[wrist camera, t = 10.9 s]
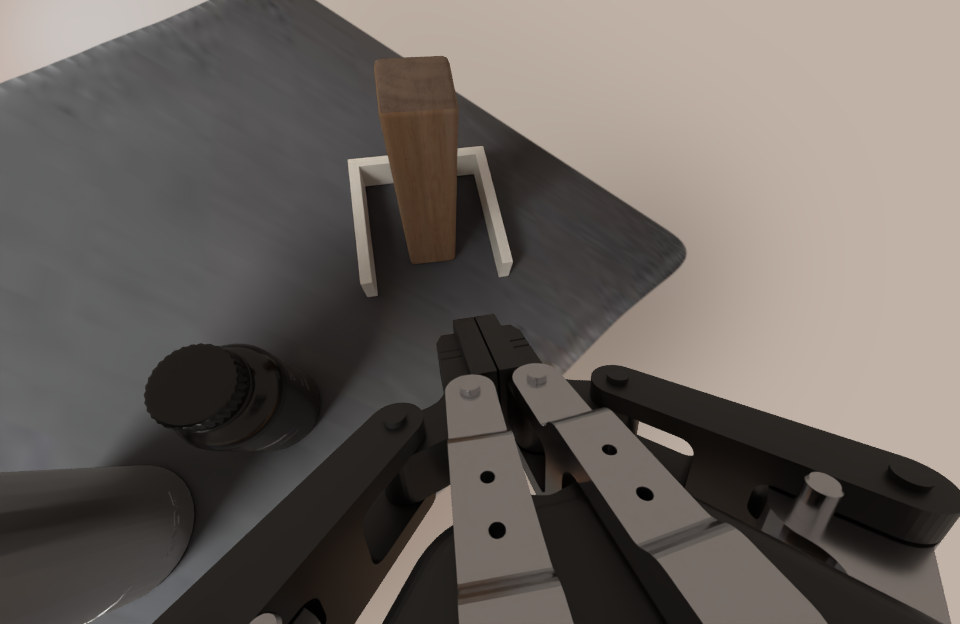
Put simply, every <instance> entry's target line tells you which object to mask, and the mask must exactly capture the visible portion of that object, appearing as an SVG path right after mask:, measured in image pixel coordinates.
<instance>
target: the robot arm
mask: <svg viewBox="0 0 960 624" xmlns="http://www.w3.org/2000/svg"><path fill="white" fill-rule="evenodd" d="M453 330H454V334H449V335H442V336H440V338H439V340H438V342H437V344H436V345H437V352H438V359H439V367H440V374H441V381H442V386H443V391H444V395H443V396H442V398H441V399H440V400H439V401H438V402H437V403H435V404H434V405H432V406H430V407H428V408H426V409H424V410H422V411H421V409H420V408H419V407H417V406H416V405H413V404H410V403H395V404H391V405H388V406H385V407H383V408H381V409H380V410H378V411H377V412H376V413H375V414H373V415H372V416H371V417H370V418H369V419H368V420H367V421H366V422H365V423H364V424H363V425H362V426H361V427H360V428H359V429H358V430H356V431H355V432H354V433H353V434H352V435H351V436H350V437H349V438H348V439H347V440H346V441H345V442H344V443H343V444H342V445H341V446H340V447H338V448H337V449H336V450H335V451H334V452H333V453H332V454H331V455H330V456H329V457H328V458H327V459H326V460H325V461H324V462H323V463H322V464H321V465H319V466H318V467H317V468H316V469H315V470H314V471H313V472H312V473H311V474H310V475H309V476H308V477H307V478H306V479H305V480H304V481H303V482H301V483H300V484H299V485H298V486H297V487H296V488H295V489H294V490H293V491H292V492H291V493H290V494H289V495H288V496H287V497H286V498H285V499H283V500H282V501H281V502H280V503H279V504H278V505H277V506H276V507H275V508H274V509H273V510H272V511H271V512H270V513H269V514H268V515H267V516H266V517H264V518H263V519H262V520H261V521H260V522H259V523H258V524H257V525H256V526H255V527H254V528H253V529H252V530H251V531H250V532H249V533H248V534H246V535H245V536H244V537H243V538H242V539H241V540H240V541H239V542H238V543H237V544H236V545H235V546H234V547H233V548H232V549H231V550H230V551H228V552H227V553H226V554H225V555H224V556H223V557H222V558H221V559H220V560H219V561H218V562H217V563H216V564H215V565H214V566H213V567H212V568H211V569H209V570H208V571H207V572H206V573H205V574H204V575H203V576H202V577H201V578H200V579H199V580H198V581H197V582H196V583H195V584H194V585H193V586H191V587H190V588H189V589H188V590H187V591H186V592H185V593H184V594H183V595H182V596H181V597H180V598H179V599H178V600H177V601H176V602H175V603H173V604H172V605H171V606H170V607H169V608H168V609H167V610H166V611H165V612H164V613H163V614H162V615H161V616H160V617H159V618H158V619H157V620H155V621H154V622H153V623H152V624H355V622H356V621H357V619H358V617H359V616H360V615H361V613H362V611H363V610H364V608H365V607H366V605H367V604H368V602H369V601H370V599H371V598H372V596H373V594H374V593H375V592H376V590H377V589H378V587H379V585H380V584H381V582H382V581H383V579H384V578H385V576H386V575H387V573H388V572H389V570H390V569H391V567H392V565H393V564H394V563H395V561H396V559H397V558H398V556H399V555H400V553H401V552H402V550H403V549H404V547H405V546H406V544H407V543H408V541H409V540H410V538H411V537H412V535H413V534H414V532H415V530H416V529H417V527H418V526H419V524H420V523H421V521H422V520H423V518H424V517H425V515H426V514H427V512H428V511H429V509H430V508H431V506H432V504H433V503H434V500H435V497H436V492H438V491H440V490H442V489H443V488H445V487H447V486H449V485H451V498H452V511H453V525H452V526H451V527H449V528H448V529H447V530H445V531H444V532H443V533H442V534H440V535H439V536H438V537H437V538H436V539H435V540H434V541H433V542H432V543H431V544H430V545H429V546H428V548H427V549H426V550H425V551H424V553H423V554H422V555H421V557H420V558H419V560H418V561H417V563H416V565H415V566H414V568H413V570H412V572H411V573H410V575H409V577H408V579H407V580H406V582H405V584H404V586H403V587H402V589H401V591H400V593H399V595H398V596H397V598H396V600H395V602H394V604H393V605H392V607H391V609H390V611H389V612H388V614H387V616H386V618H385V620H384V621H383V623H382V624H951V621H950V616H949V612H948V608H947V603H946V599H945V595H944V591H943V586H942V582H941V578H940V573H939V569H938V565H937V560H936V556H935V552H934V550H935V549H936V547H937V546H938V545H939V543H940V542H941V540H942V539H943V538H944V537H945V535H946V534H947V533H948V531H949V530H950V529H951V527H952V526H953V525H954V523H955V522H956V521H957V519H958V518H959V517H960V490H959V489H958V488H957V487H956V486H955V485H954V484H953V483H952V482H951V481H949V480H948V479H947V478H946V477H944V476H943V475H941V474H940V473H938V472H936V471H935V470H933V469H931V468H929V467H927V466H925V465H923V464H921V463H919V462H917V461H914V460H912V459H909V458H906V457H903V456H900V455H897V454H894V453H891V452H888V451H885V450H881V449H879V448H875V447H872V446H869V445H866V444H863V443H860V442H856V441H854V440H851V439H847V438H844V437H841V436H838V435H835V434H832V433H829V432H826V431H822V430H819V429H816V428H813V427H810V426H807V425H804V424H801V423H797V422H795V421H792V420H788V419H785V418H782V417H779V416H776V415H773V414H770V413H766V412H763V411H760V410H757V409H754V408H751V407H748V406H745V405H742V404H739V403H736V402H732V401H729V400H726V399H723V398H719V397H717V396H714V395H711V394H708V393H704V392H701V391H698V390H695V389H692V388H689V387H686V386H683V385H679V384H676V383H673V382H670V381H667V380H664V379H661V378H658V377H655V376H652V375H648V374H645V373H642V372H639V371H636V370H633V369H630V368H626V367H623V366H618V365H606V366H601V367H599V368H597V369H595V370H594V371H593V372H592V375H591V381H585V380H584V381H583V380H568V379H565V378H564V377H563V376H562V375H561V374H560V372H559V371H558V370H557V369H555V368H553V367H551V366H549V365H546V364H542V362H541V361H540V359H539V358H538V356H537V355H536V353H535V352H534V350H533V349H532V347H531V346H529V343H528V341H527V340H526V339H525V337H524V335H523V334H522V332H521V331H520V330H519V329H517V328H515V327H513V326H512V325H505V326H501V325H500V323H499V321H498V320H497V318H496V316H495V315H494V314H490V315H484V316H477V317H474V318H473V317H471V318H465V319H458V320H453ZM639 421H640V422H642V423H645V424H648V425H650V426H652V427H655V428H657V429H660V430H662V431H665V432H667V433H670V434H672V435H675V436H677V437H680V438H682V439H684V440H685V441H687V442H688V443H689V444H690V446H691V447H692V449H693V452H694V455H693V456H687V455H684V454H681V453H679V452H677V451H674V450H672V449H669V448H667V447H665V446H662V445H660V444H658V443H655V442H653V441H650V440H648V439H646V438H643V437H641V436H639V435H637V430H638V423H639ZM512 432H513V433H512ZM513 435H514V436H513ZM514 438H515V439H514ZM523 469H524V470H523ZM524 471H525V473H526V475H527V477H528V479H529V481H530V483H531V485H532V487H533V489H534V491H535V493H536V495H531V493H530V490H529V487H528V483H527V480H526V476H525V473H524ZM193 523H194V504H193V500H192V497H191V493H190V491H189V489H188V488H187V486H186V484H185V483H184V481H183V480H182V479H181V478H180V477H179V476H177V475H176V474H175V473H173V472H171V471H170V470H168V469H166V468H162V467H158V466H154V465H139V466H120V467H96V468H77V469H57V470H38V471H19V472H0V624H86V623H88V622H90V621H92V620H94V619H96V618H98V617H101V616H103V615H105V614H107V613H109V612H111V611H113V610H115V609H117V608H119V607H121V606H123V605H125V604H128V603H130V602H132V601H134V600H136V599H138V598H140V597H142V596H143V595H145V594H146V593H148V592H149V591H151V590H152V589H154V588H155V587H156V586H157V585H159V584H160V583H161V582H162V581H163V580H164V579H165V578H166V577H167V576H168V575H169V574H170V572H171V571H172V570H173V569H174V567H175V566H176V565H177V563H178V562H179V561H180V559H181V557H182V555H183V553H184V551H185V550H186V548H187V545H188V542H189V539H190V537H191V534H192V529H193Z"/></svg>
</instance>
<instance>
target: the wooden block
mask: <svg viewBox="0 0 960 624" xmlns="http://www.w3.org/2000/svg"><path fill="white" fill-rule="evenodd" d="M374 72H375V82H376V92H377V102H378V112H379V118H380V122H381V127H382V131H383V136H384V141H385V145H386V150H387V155H388V159H389V164H390V169H391V173H392V178H393V183H394V187H395V192H396V196H397V201H398V206H399V210H400V215H401V220H402V224H403V229H404V234H405V238H406V243H407V248H408V252H409V257H410V261H411V263H412V264H421V263H430V262H439V261H448V260H453V259H454V258H455V244H456V197H457V152H458V104H457V99H456V94H455V89H454V84H453V79H452V74H451V69H450V64H449V61H448V59H447V58H446V57H444V56H433V57H409V58H385V59H378V60H376V61H375V65H374Z"/></svg>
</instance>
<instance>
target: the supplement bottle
mask: <svg viewBox="0 0 960 624" xmlns="http://www.w3.org/2000/svg"><path fill="white" fill-rule="evenodd" d="M145 390H146V391H145V393H144V397H145V405H146V406H147V411H148V412H149V413H150V415H151V418H153V419H155V420H156V422H157V423H158V424H162V425H163V426H164V427H166V428H172V429H174V430H175V431H176V432H177V434H178V435H179V436H180V437H181V438H182V439H183V440H185V441H186V442H187V443H189V444H191V445H193V446H195V447H198V448H201V449H205V450H213V451H275V450H281V449H284V448H287V447H290V446H292V445H294V444H295V443H297V442H298V441H300V440H301V439H302V438H303V437H305V436H306V435H307V434H308V432H309V431H310V430H311V429H312V427H313V426H314V424H315V422H316V420H317V418H318V415H319V411H320V394H319V391H318V388H317V386H316V384H315V383H314V381H313V380H312V379H311V378H310V377H309V376H308V375H306V374H305V373H304V372H302V371H300V370H299V369H297V368H295V367H293V366H292V365H290V364H288V363H286V362H284V361H283V360H281V359H279V358H277V357H276V356H274V355H272V354H270V353H269V352H267V351H265V350H263V349H261V348H258V347H255V346H252V345H248V344H228V345H223V346H214V345H212V344H206V345H205V344H198V345H190V346H188V347H182V348H181V349H179V350H176V351H174V352H172V354H170V355H168V356H166V357H165V358H164V360H163V361H161V362H159V364H158V365H157V367H156V368H155V369H154V370H153V371H152V374H151V376H150V377H149V378H148V383H147V384H146V386H145Z"/></svg>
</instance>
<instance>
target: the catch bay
mask: <svg viewBox="0 0 960 624" xmlns="http://www.w3.org/2000/svg"><path fill="white" fill-rule="evenodd" d="M348 167H349V177H350V187H351V197H352V207H353V217H354V226H355V236H356V246H357V256H358V266H359V276H360V284H361V286H362V288H363V290H364V292H365V294H366V295H367V297H373V296H378V291H377V282H376V274H375V265H374V257H373V248H372V240H371V231H370V223H369V214H368V206H367V197H366V189H365V186H373V185H382V184H391V183H393V178H392V173H391V169H390V164H389V159H388V156H379V157H369V158H359V159H349V160H348ZM471 174H474V176H475V181H476V185H477V189H478V193H479V197H480V201H481V206H482V210H483V214H484V218H485V222H486V226H487V230H488V235H489V239H490V243H491V247H492V251H493V255H494V260H495V264H496V268H497V272H498V276H499V277H504V276H508V275H509V272H510V269H511V266H512V263H513V260H512V256H511V252H510V248H509V244H508V240H507V237H506V233H505V229H504V225H503V221H502V217H501V213H500V210H499V206H498V202H497V198H496V194H495V190H494V186H493V182H492V179H491V175H490V171H489V167H488V163H487V159H486V155H485V152H484V148H483V146H478V147H468V148H458V152H457V176H463V175H471Z"/></svg>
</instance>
